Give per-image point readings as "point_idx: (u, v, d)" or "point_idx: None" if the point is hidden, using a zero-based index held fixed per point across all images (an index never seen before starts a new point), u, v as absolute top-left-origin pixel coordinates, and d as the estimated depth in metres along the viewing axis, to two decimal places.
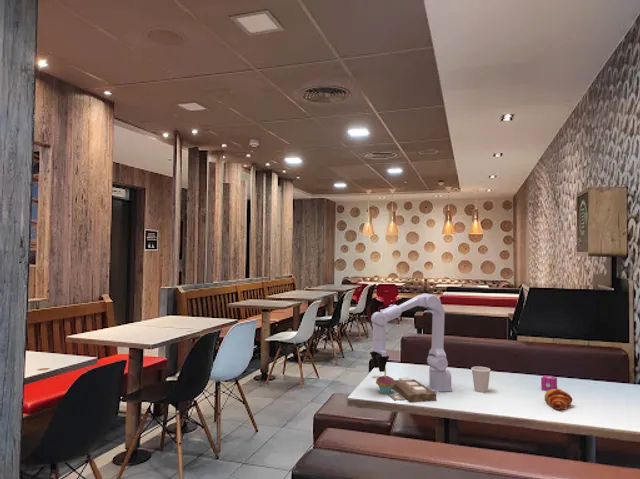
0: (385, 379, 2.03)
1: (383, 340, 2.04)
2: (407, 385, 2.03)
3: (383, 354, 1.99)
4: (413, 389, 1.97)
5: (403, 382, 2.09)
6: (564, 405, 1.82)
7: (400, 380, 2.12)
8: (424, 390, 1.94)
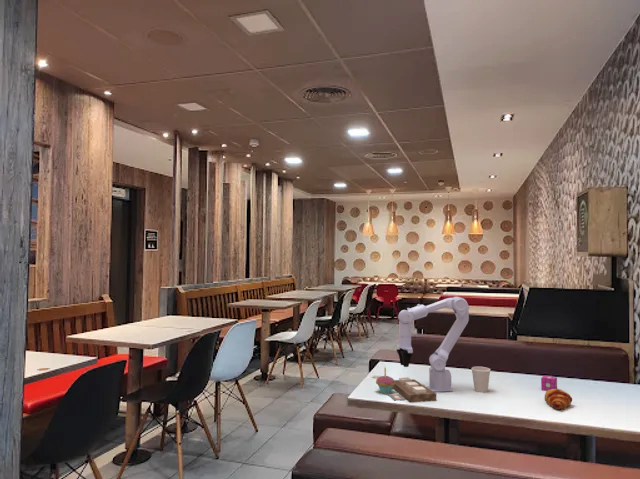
0: (385, 379, 2.03)
1: (409, 337, 2.11)
2: (407, 385, 2.03)
3: (409, 351, 2.05)
4: (413, 389, 1.97)
5: (403, 382, 2.09)
6: (564, 405, 1.82)
7: (400, 380, 2.12)
8: (424, 390, 1.94)
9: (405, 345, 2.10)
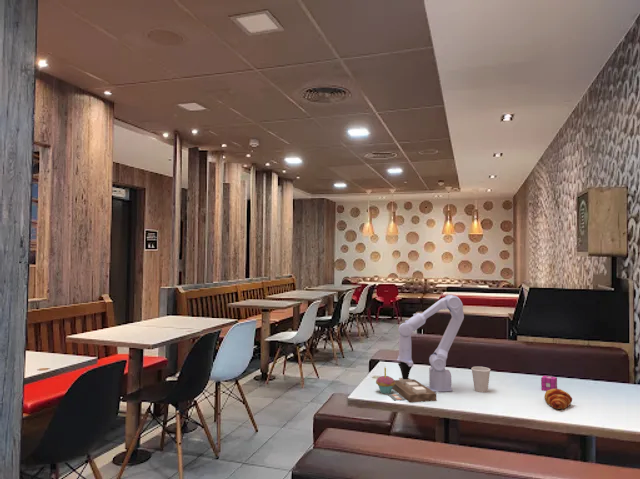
0: (385, 379, 2.03)
1: (409, 350, 2.10)
2: (407, 385, 2.03)
3: (410, 364, 2.05)
4: (413, 389, 1.97)
5: (403, 382, 2.09)
6: (563, 405, 1.82)
7: (400, 380, 2.12)
8: (424, 390, 1.94)
9: (405, 358, 2.10)
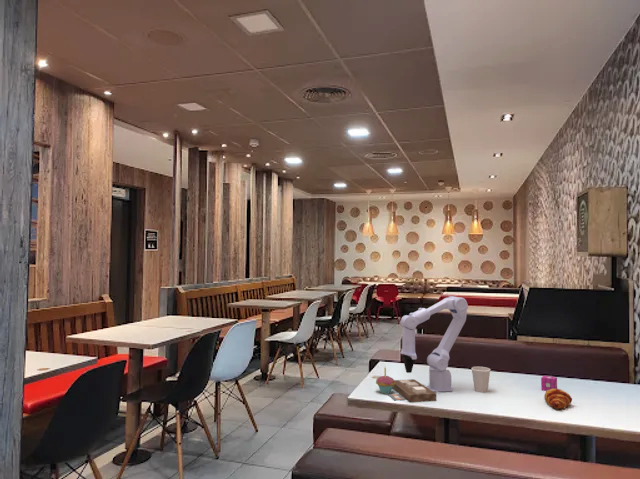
0: (385, 379, 2.03)
1: (413, 343, 2.06)
2: (407, 385, 2.03)
3: (413, 357, 2.01)
4: (413, 389, 1.97)
5: None
6: (563, 405, 1.82)
7: None
8: (424, 390, 1.94)
9: (409, 351, 2.06)
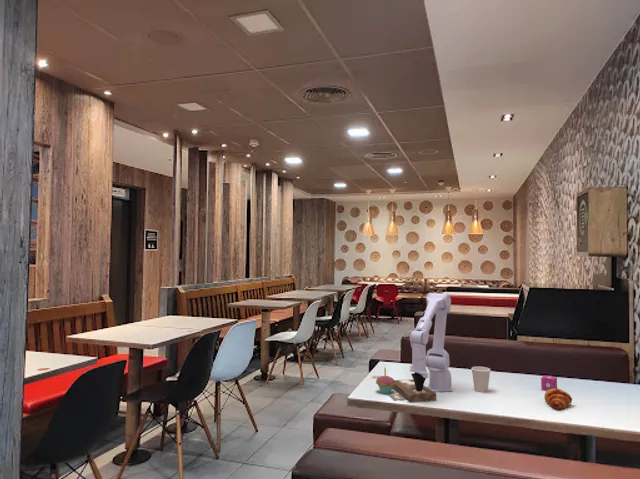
0: (385, 379, 2.03)
1: (424, 360, 1.95)
2: (407, 385, 2.03)
3: (425, 375, 1.89)
4: None
5: None
6: (563, 404, 1.82)
7: None
8: None
9: (420, 369, 1.94)
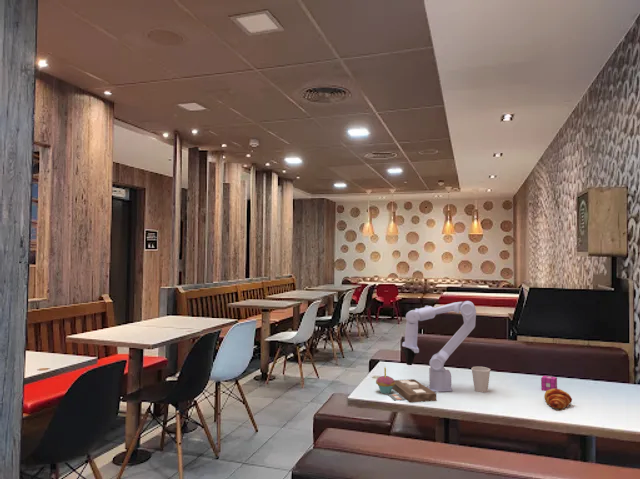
0: (385, 379, 2.03)
1: (415, 337, 2.13)
2: (407, 385, 2.03)
3: (416, 350, 2.08)
4: None
5: None
6: (562, 404, 1.82)
7: None
8: None
9: (411, 345, 2.13)
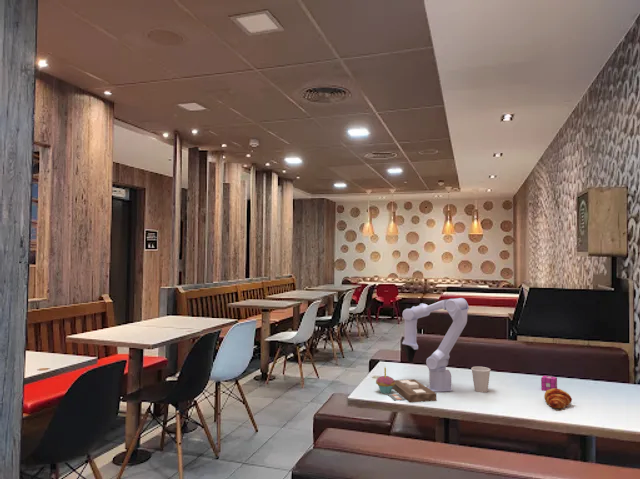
0: (385, 379, 2.03)
1: (414, 334, 2.20)
2: (407, 385, 2.03)
3: (415, 347, 2.15)
4: None
5: None
6: (562, 404, 1.82)
7: None
8: None
9: (411, 342, 2.19)
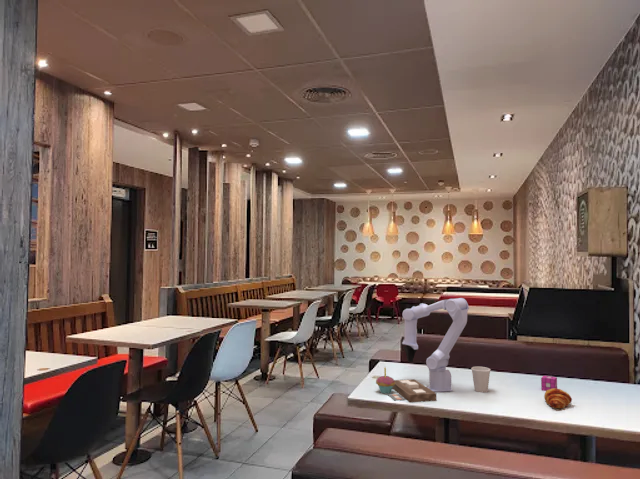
0: (385, 379, 2.03)
1: (414, 334, 2.20)
2: (407, 385, 2.03)
3: (415, 347, 2.15)
4: None
5: None
6: (562, 404, 1.82)
7: None
8: None
9: (411, 342, 2.19)
